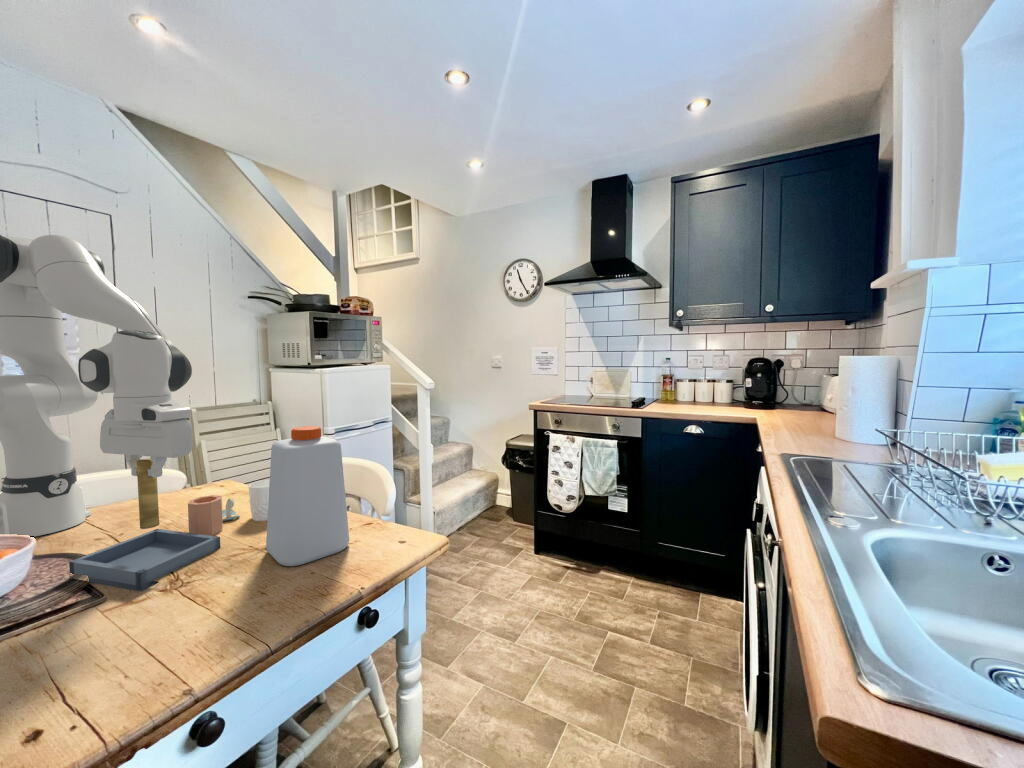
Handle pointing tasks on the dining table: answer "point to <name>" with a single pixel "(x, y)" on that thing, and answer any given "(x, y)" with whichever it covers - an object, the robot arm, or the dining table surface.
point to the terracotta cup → (205, 515)
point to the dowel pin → (147, 495)
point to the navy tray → (143, 558)
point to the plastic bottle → (306, 498)
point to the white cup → (259, 499)
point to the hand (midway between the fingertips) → (147, 476)
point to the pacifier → (229, 510)
